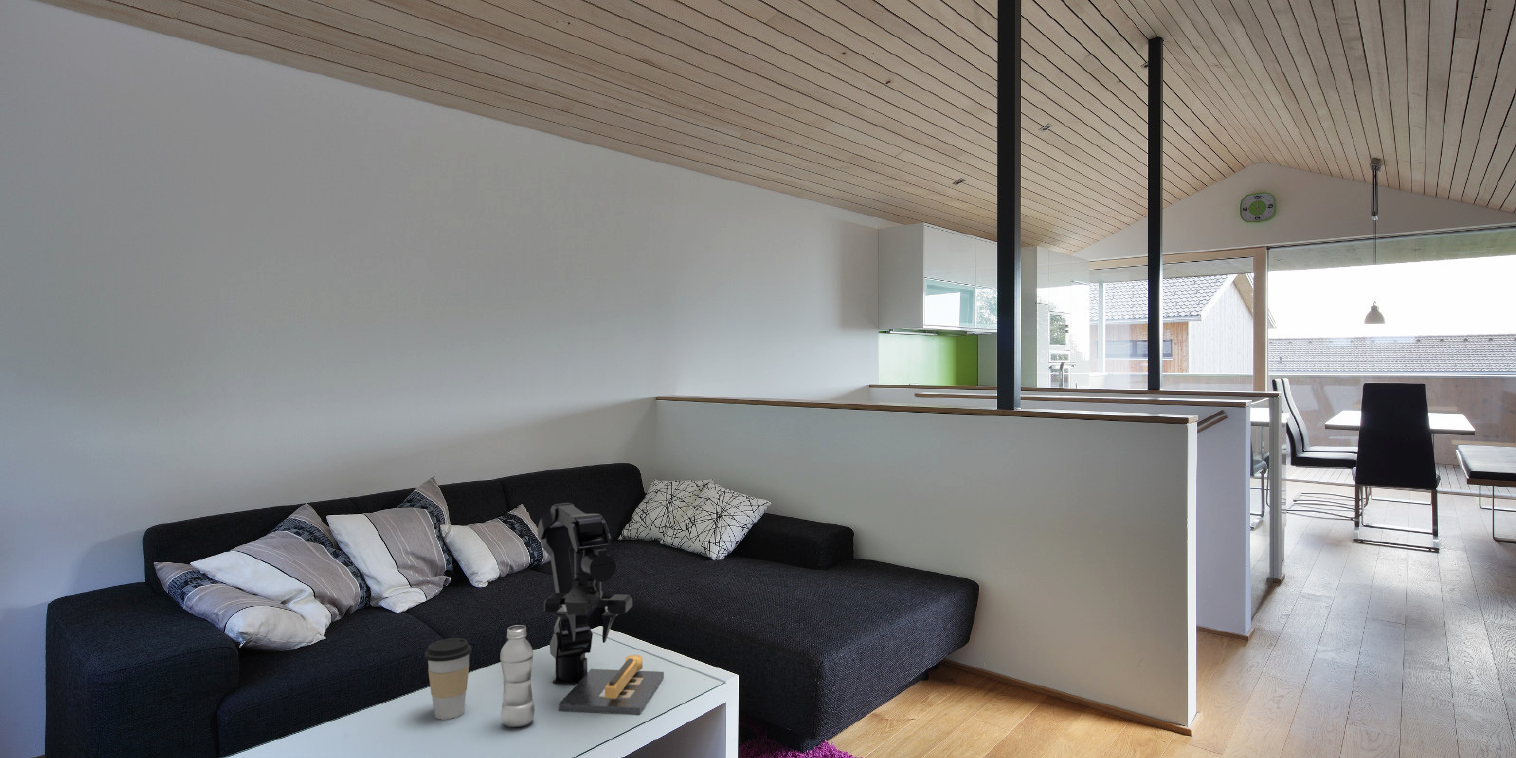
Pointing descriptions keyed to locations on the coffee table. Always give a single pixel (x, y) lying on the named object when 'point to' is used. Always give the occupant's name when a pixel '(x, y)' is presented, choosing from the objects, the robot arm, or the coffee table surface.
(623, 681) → the bar
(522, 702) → the plastic bottle
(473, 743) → the coffee table surface
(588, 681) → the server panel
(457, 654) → the coffee cup
